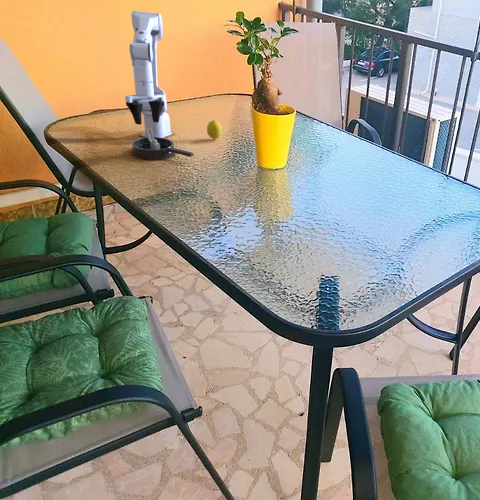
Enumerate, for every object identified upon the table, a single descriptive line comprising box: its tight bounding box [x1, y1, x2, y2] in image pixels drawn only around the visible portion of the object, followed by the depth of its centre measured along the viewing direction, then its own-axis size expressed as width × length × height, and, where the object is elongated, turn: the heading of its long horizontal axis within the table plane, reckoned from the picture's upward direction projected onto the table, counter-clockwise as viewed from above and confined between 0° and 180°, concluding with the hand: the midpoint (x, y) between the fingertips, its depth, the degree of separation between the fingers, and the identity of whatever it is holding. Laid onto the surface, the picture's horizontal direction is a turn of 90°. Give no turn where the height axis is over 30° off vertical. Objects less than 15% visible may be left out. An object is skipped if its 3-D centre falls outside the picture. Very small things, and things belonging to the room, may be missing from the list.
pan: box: [131, 137, 175, 161], centre depth 166 cm, size 14×14×4 cm
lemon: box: [206, 119, 223, 141], centre depth 184 cm, size 6×6×8 cm
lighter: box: [144, 129, 160, 150], centre depth 165 cm, size 7×2×8 cm, turn 43°
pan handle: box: [169, 147, 195, 158], centre depth 163 cm, size 2×9×1 cm, turn 71°
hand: (147, 123), depth 161 cm, fingers open, 7 cm apart
